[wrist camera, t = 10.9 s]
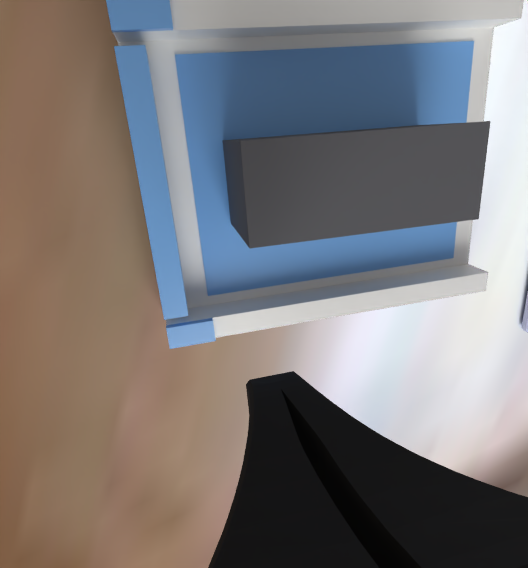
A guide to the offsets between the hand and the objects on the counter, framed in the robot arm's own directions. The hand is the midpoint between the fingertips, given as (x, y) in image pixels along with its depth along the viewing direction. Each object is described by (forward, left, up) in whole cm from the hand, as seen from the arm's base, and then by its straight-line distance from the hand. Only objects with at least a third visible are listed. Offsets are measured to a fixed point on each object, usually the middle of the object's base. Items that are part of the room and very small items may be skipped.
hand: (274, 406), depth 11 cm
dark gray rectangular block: (-5, -5, -9) cm, 11 cm away
